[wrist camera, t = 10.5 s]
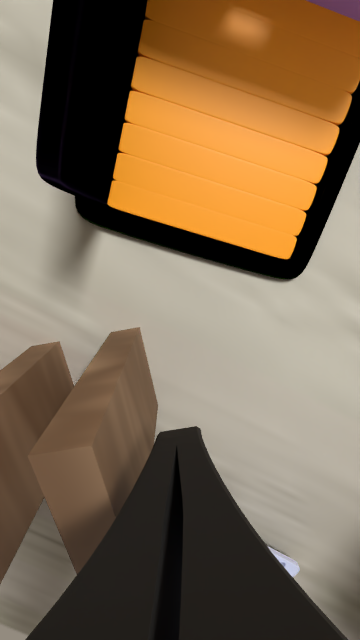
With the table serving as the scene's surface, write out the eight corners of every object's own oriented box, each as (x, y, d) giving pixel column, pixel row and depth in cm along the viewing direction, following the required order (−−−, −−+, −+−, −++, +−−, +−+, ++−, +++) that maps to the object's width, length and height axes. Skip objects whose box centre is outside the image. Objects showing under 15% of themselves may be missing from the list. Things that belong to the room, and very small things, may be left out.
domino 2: (139, 327, 15) (91, 445, 7) (157, 405, 17) (138, 585, 8) (110, 332, 15) (27, 456, 7) (131, 409, 17) (84, 592, 8)
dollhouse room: (126, -104, 11) (45, -642, 4) (408, 10, 12) (701, -275, 5) (72, 219, 14) (-20, 206, 7) (295, 285, 15) (387, 323, 9)
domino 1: (59, 341, 16) (-87, 474, 7) (84, 417, 17) (-11, 605, 8) (31, 346, 16) (-147, 484, 7) (58, 421, 17) (-62, 612, 8)
